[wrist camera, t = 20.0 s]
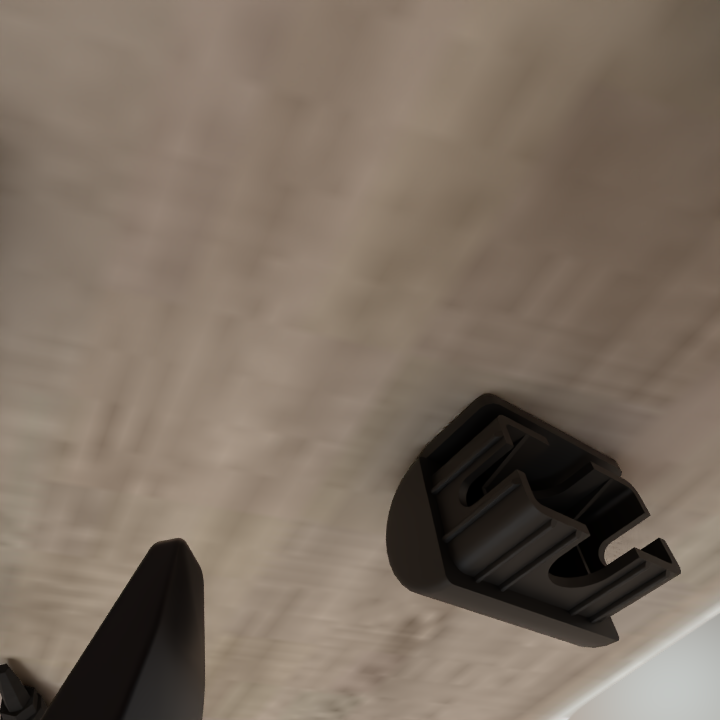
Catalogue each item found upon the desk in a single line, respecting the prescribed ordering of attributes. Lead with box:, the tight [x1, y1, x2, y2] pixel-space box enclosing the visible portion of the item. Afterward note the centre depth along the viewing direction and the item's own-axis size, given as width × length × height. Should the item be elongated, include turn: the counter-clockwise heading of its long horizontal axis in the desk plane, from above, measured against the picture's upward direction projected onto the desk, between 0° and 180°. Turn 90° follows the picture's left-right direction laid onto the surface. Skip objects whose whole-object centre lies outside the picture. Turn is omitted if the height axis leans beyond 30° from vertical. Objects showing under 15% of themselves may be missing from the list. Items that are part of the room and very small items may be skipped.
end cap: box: [386, 394, 681, 648], centre depth 27 cm, size 10×7×7 cm
